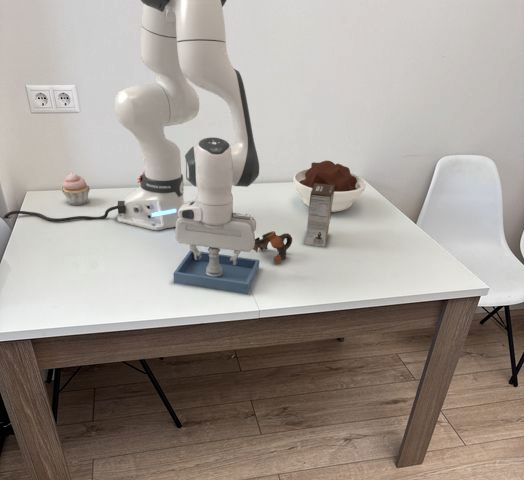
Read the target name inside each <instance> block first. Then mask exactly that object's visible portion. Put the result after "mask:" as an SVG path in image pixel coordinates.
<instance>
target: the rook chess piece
mask: <svg viewBox="0 0 524 480" xmlns="http://www.w3.org/2000/svg"><path fill="white" fill-rule="evenodd" d="M207 252H208V253H209V264H208V266H207V268H206V274H207V275H208V276H210V277H219V276H221V275H222V273H223V272H222V267H221V265H220V264H219V254H220V252H221V249H220V248H213V247H207Z"/></svg>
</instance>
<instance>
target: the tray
mask: <svg viewBox="0 0 524 480" xmlns="http://www.w3.org/2000/svg"><path fill="white" fill-rule="evenodd" d="M198 251H199V250H198ZM199 252H202V259H201V260H195V255H194V253H193V252H192V250H191V249H190V250H188V252H187V254H186V255H185V257H184V258H183V259H182V260H181V262H180V263H179V265H178V266H177V267H176V269H175V270H174V271H173V283H174V284H177V285H185V286H191V287H197V288H203V289H204V288H205V289H210V290H217V291H223V292H229V293H236V294H243V295H249V292H250V291H251V289H252V286H253V284H254V282H255V279H256V277H257V275H258V273H259V270H260V259H256V258H248V257H243V256H242V257H241V256H238V257H237V263H236V265H230V258H231V256H232V255H227V254H220V253H219V264H220V265H221V267H222V272H223V273H222V275H221V276H219V277H210V276H208V275H207V274H206V268H207V266H208V264H209V251H207V252H206V251H201V250H200V251H199Z"/></svg>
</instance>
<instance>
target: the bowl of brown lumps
mask: <svg viewBox="0 0 524 480" xmlns="http://www.w3.org/2000/svg"><path fill="white" fill-rule="evenodd" d="M310 166H311V167H310V168H305V169H301V170H298V171H297V172H296V173H295V174H294V176H293V178H292V183H293V185H294V188H295V190H296V191H297V192H298V194H299V197H300V199H301V202H302V203H303V204H304V205H306V206H307V208H309V204H310V195H311V191H312V188H313V185H314V183H318V184H327V185H335V189H334V195H333V203H332V209H331V213H333V212H334V213H336V212H342V211H345V210H347V209H349V208H350V207H351V206H352V205H353V204H354V201H355V200H357V199H358V198H359V197H360V196H361V195H363V192H364V191H365V189H366V181H365V180H364V179H363V178H362V177H361V176H360V175H357V174H355V173H353V172H351V169H350V168H349V166H345V165H342V164H340V163H336V164H335V163H334V162H333V161H331V160H324V161H320V162H315V161H313V162H311V165H310Z"/></svg>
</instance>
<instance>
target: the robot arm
mask: <svg viewBox="0 0 524 480" xmlns="http://www.w3.org/2000/svg"><path fill="white" fill-rule="evenodd" d="M140 2H141V3H142V12H141V25H140V48H139V49H140V51H139V53H140V54H139V55H140V58H141V59H142V62H143V64H144V66H146V67H147V68H148V70H150V71H152V72H153V73H155V82H154V83H151V84H150V83H149V84H141V85H140V84H139V85H133V86H129V87H127V88H124V89H122V90H119V91H118V92H117V93H116V95H115V98H114V102H113V103H114V105H113V107H114V108H113V109H114V113H115V116H116V118H117V120H118V122H119V123H120V124H121V125H122V127H124V128H125V129H126V130H128V131H129V132H130V133H131V134H132V135H133V136H134V138H135V139H136V141H137V143H138V145H139V146H140V150H141V155H142V161H143V170H144V171H143V172H142V174H140V175H139V177H138V178H137V183H138V184H139V183H140V184H139V186H138V187H137V188H135V189H134V190H133V191H132V192H130V193H129V194H128V195H127V196H126V198H125V200H117V205H116V206H111V207H109V208H107V209H106V210H105V211H104V214H103V215H101V216H87V215H77V216H68V217H60V218H55V217H54V218H53V217H49V216H47V215H44V214H42V213H39V212H35V211H25V210H11V211H9V212H7V213H6V214H4V215H3V216H2V218H3V219H7V218H8V217H10V216H12V215H28V216H34V217H35V216H36V217H38V218H41V219H43V220H46V221H48V222H67V221H74V220H91V221H92V220H93V221H94V220H104V219H106V218H107V217H108V215H109V213H110V212H112V211H114V210H117V216H116V217H117V218H116V219H117V222H120V223H123V224H127V225H131V226H136V227H140V228H143V229H147V230H152V231H162V230H165V229H169V228H175V231H174V232H175V240H176V241H177V243H179V244H181V245H189V249H190V250H192V252H193V253H194V255H195V260H201V259H202V252H203V251H201V252H199V249H198V247H197V246H199V247H206V248H209V247H213V248H220V250H229V251H233V254H234V255H230V256H231V258H230V265H236V263H237V257H240V254H241V252H243V253H251V252H252V251H254V250H253V248H254V246H255V239H256V237H255V236H256V234H255V233H256V230H257V221H256V219H255V218H254V217H253V216H251V215H250V214H245V213H243V214H242V213H240V212H239V213H237V212H234V196H233V192H232V191H233V190H232V189H233V187H245V188H248V187H249V186H250V185H252V184H253V183H254V182H255V181H256V180H257V179H258V177H259V175H260V160H259V155H258V151H257V148H256V144H255V139H254V133H253V128H252V122H251V116H250V110H249V103H248V99H247V93H246V89H245V84H244V81H243V77H242V74H241V73H240V71H239V70H237V69H236V68H234V66H233V65H232V63H231V60H230V58H229V55H228V51H227V35H226V24H225V16H224V10H223V7H224V6H225V4H226V3H227V0H140ZM191 83H192V85H194V86H196V87H197V88H199V89H202V90H204V91H207V92H209V93H211V94H214V95H216V96H217V97H219V98H221V99H222V100H223V101H224V102H225V103H226V104H227V107H228V108H229V111H230V117H231V120H232V121H231V122H232V127H233V132H234V137H235V142H234V143H233V144H230V143H229V142H228V141H227V140H225V139H223V138H220V137H211V136H210V137H204V138H202V139H201V140H199V141H198V142H197V145H193V146H192V147H190V149H188V151H187V152H186V154H185V155H184V158H185V179H186V180H187V182H189V183H190V184H191V185H192V186H193V187H195V188H197V193H196V198H195V199H193V200H192V199H191V200H187V201H186V202H185V197H184V193H185V182H184V175H183V173H182V158H181V156H182V154H181V150H180V148H179V146H178V145H177V144H176V143H175V142H174V141H172V140H171V139H169V138H167V137H166V135H165V127H171V126H178V125H183V124H184V123H187V122H189V121H191V120H194V119H195V118H196V117H198V114H199V110H200V98H199V97H200V96H199V95H198V93H197V90H196V89H195V88H194V87H193V86H192V85H191Z"/></svg>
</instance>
